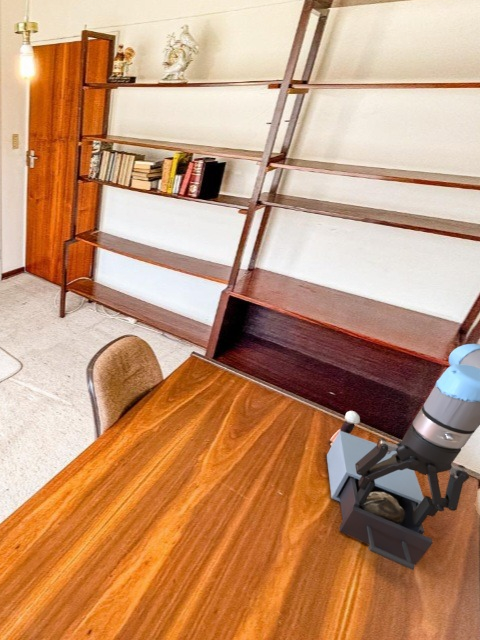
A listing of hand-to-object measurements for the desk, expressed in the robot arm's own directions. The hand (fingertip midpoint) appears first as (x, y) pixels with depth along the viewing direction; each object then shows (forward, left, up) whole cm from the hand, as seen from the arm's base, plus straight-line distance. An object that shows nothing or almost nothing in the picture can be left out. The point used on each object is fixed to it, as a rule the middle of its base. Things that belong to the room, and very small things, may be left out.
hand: (387, 509), depth 88 cm
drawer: (0, 0, -8) cm, 8 cm away
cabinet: (0, -14, -9) cm, 16 cm away
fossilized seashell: (0, +1, -3) cm, 3 cm away
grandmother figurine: (+4, -27, -9) cm, 29 cm away
